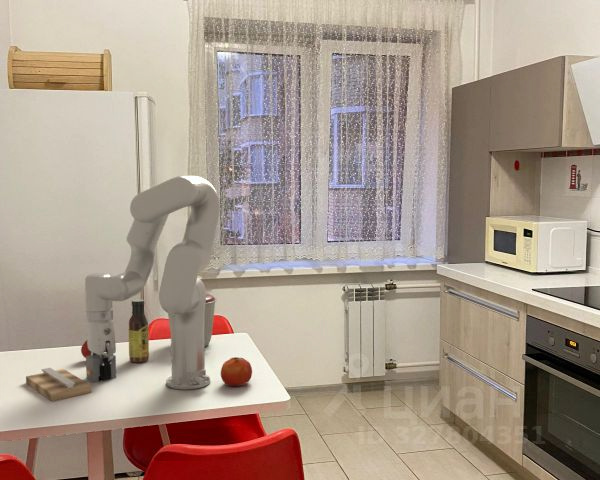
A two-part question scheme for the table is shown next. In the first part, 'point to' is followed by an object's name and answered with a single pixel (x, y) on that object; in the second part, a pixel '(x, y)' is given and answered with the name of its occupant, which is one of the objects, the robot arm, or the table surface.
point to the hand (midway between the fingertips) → (101, 374)
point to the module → (98, 367)
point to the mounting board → (58, 386)
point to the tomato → (236, 371)
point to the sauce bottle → (138, 333)
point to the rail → (58, 378)
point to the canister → (206, 318)
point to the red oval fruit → (85, 350)
